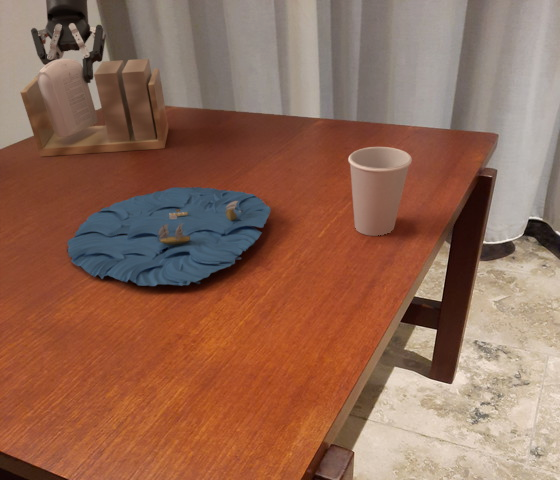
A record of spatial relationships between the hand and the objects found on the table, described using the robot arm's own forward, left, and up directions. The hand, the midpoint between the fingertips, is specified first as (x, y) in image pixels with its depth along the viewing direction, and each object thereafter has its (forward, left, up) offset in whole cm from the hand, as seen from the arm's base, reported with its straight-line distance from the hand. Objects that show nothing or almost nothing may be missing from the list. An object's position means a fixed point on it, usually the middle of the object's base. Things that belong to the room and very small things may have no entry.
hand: (71, 81), depth 107 cm
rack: (+5, -2, -11) cm, 12 cm away
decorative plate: (+21, -46, -11) cm, 52 cm away
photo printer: (-1, -2, -8) cm, 9 cm away
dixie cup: (+50, -47, -11) cm, 70 cm away
